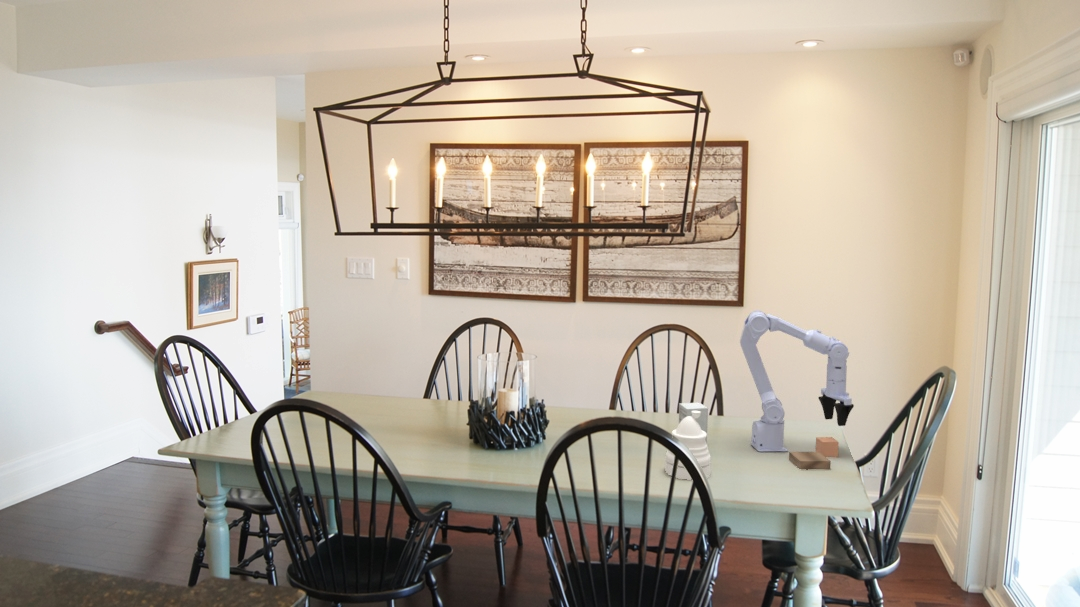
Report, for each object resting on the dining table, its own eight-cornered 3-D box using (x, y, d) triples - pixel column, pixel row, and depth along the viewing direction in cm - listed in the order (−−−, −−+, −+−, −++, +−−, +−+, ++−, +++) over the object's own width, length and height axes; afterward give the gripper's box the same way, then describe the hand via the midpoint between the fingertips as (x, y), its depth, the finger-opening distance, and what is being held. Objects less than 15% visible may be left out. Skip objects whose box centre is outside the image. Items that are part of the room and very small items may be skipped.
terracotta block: (821, 457, 235) (822, 442, 234) (815, 452, 240) (816, 437, 239) (837, 457, 235) (838, 441, 234) (831, 452, 240) (831, 437, 239)
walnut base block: (799, 471, 223) (800, 461, 223) (788, 461, 232) (789, 451, 232) (830, 471, 224) (830, 461, 223) (817, 461, 233) (818, 451, 232)
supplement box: (698, 439, 253) (699, 401, 251) (707, 445, 246) (708, 407, 244) (677, 440, 252) (678, 402, 250) (685, 447, 244) (686, 408, 243)
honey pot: (701, 464, 228) (703, 405, 226) (717, 479, 215) (719, 417, 213) (659, 466, 226) (661, 406, 224) (673, 481, 213) (674, 418, 211)
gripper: (861, 383, 230) (860, 427, 232) (835, 374, 245) (834, 415, 246) (839, 385, 229) (838, 429, 231) (815, 375, 243) (814, 416, 245)
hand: (835, 422), depth 238 cm, fingers open, 7 cm apart
